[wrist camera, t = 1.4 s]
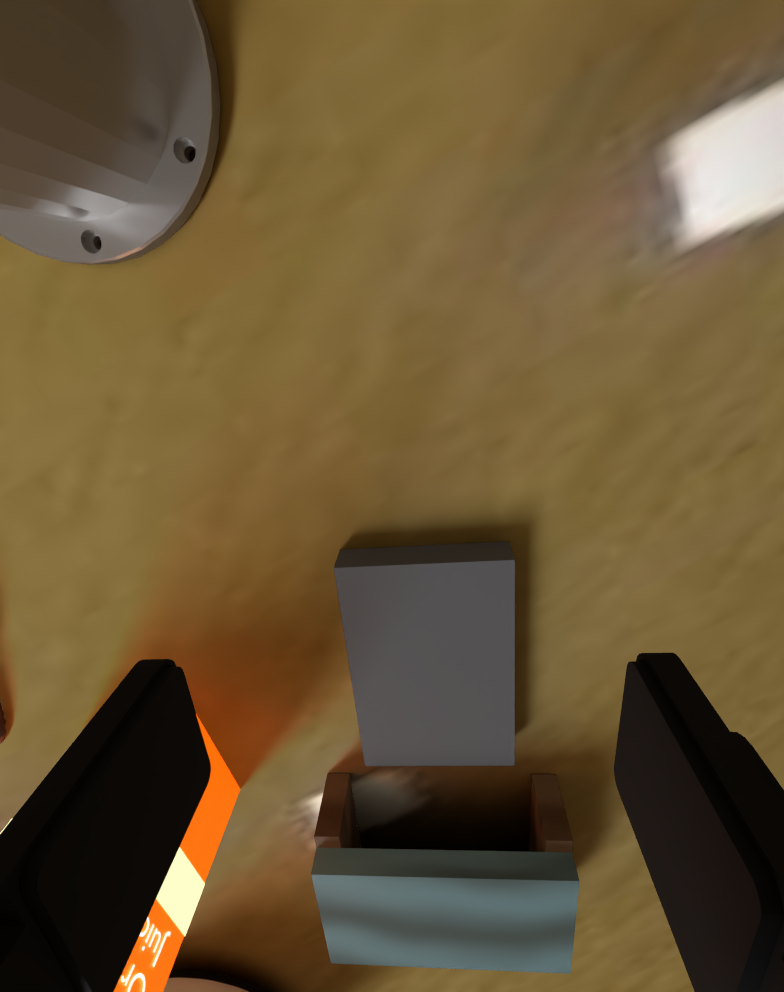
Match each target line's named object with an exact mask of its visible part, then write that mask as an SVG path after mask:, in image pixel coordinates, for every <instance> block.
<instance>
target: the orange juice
mask: <svg viewBox="0 0 784 992" xmlns="http://www.w3.org/2000/svg"><path fill="white" fill-rule="evenodd" d="M196 715H197V714H196ZM197 719H198V722H199V726H200V729H201V732H202V736H203V739H204V743H205V746H206V749H207V753H208V756H209V759H210V763H211V774H210V779H209V782H208V785H207V787H206V789H205V792H204V794H203V796H202V798H201V801H200V803H199V805H198V807H197V809H196V812H195V814H194V816H193V818H192V820H191V823H190V825H189V827H188V829H187V831H186V834H185V836H184V838H183V840H182V842H181V845H180V847H179V849H178V851H177V853H176V856H175V858H174V860H173V862H172V865H171V867H170V869H169V871H168V873H167V876H166V878H165V880H164V882H163V884H162V887H161V889H160V891H159V893H158V895H157V898H156V900H155V902H154V904H153V906H152V909H151V911H150V913H149V915H148V917H147V920H146V922H145V924H144V926H143V928H142V931H141V933H140V935H139V937H138V940H137V942H136V944H135V946H134V948H133V951H132V953H131V955H130V957H129V959H128V962H127V964H126V966H125V968H124V970H123V973H122V975H121V977H120V979H119V981H118V984H117V986H116V988H115V990H114V992H163V991H164V988H165V985H166V983H167V980H168V977H169V975H170V972H171V970H172V967H173V964H174V962H175V959H176V956H177V954H178V951H179V949H180V946H181V943H182V941H183V938H184V936H186V933H187V930H188V928H189V925H190V923H191V920H192V917H193V915H194V912H195V909H196V907H197V904H198V901H199V899H200V896H201V894H202V891H203V888H204V886H205V880H206V878H207V875H208V872H209V870H210V867H211V865H212V862H213V859H214V857H215V854H216V852H217V849H218V846H219V844H220V841H221V838H222V836H223V833H224V831H225V828H226V825H227V823H228V820H229V817H230V815H231V812H232V810H233V807H234V804H235V802H236V799H237V796H238V794H239V791H240V788H239V786H238V784H237V783H236V781H235V779H234V778H233V776H232V774H231V772H230V771H229V769H228V767H227V766H226V764H225V762H224V761H223V759H222V757H221V755H220V754H219V752H218V750H217V749H216V747H215V745H214V743H213V742H212V740H211V738H210V737H209V735H208V733H207V731H206V730H205V728H204V726H203V725H202V723H201V721H200V719H199V718H198V716H197ZM11 820H12V819H11ZM11 820H10V821H11ZM10 821H9V822H10ZM8 824H9V823H8ZM8 824H7V825H8ZM7 825H6V826H7ZM6 826H5V827H6ZM4 829H5V828H4ZM4 829H3V830H4ZM3 830H2V831H3ZM2 831H1V833H2ZM1 833H0V834H1Z"/></svg>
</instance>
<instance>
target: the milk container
mask: <svg viewBox="0 0 784 992" xmlns="http://www.w3.org/2000/svg"><path fill="white" fill-rule="evenodd" d="M163 992H266V991H264V990H262V989H260V988H258V987H256V986H254V985H251V984H249V983H247V982H245V981H243V980H241V979H238V978H234V977H230V976H226V975H222V974H219V973H214V972H207V971H192V970H179V971H174V972H170V975H169V977H168V980H167V983H166V985H165V988H164V991H163Z"/></svg>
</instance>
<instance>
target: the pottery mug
mask: <svg viewBox="0 0 784 992" xmlns="http://www.w3.org/2000/svg"><path fill="white" fill-rule="evenodd" d="M5 722H6V721H5V719H4V713H3V710H2V706H1V704H0V744H1V743H2V742H3V741H4V739H5Z"/></svg>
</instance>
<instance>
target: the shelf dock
mask: <svg viewBox="0 0 784 992" xmlns="http://www.w3.org/2000/svg"><path fill="white" fill-rule="evenodd" d="M314 838H315V842H316V847H317V848H316V853H315V858H314V863H313V868H312V873H311V876H312V881H313V885H314V890H315V894H316V899H317V903H318V908H319V912H320V917H321V921H322V926H323V930H324V934H325V939H326V943H327V948H328V952H329V957H330V961H331V963H332V964H356V965H380V966H403V967H427V968H451V969H475V970H498V971H522V972H546V973H571V962H572V952H573V942H574V932H575V921H576V911H577V901H578V891H579V878H578V874H577V870H576V866H575V862H574V858H573V854H572V847H573V839H572V835H571V831H570V828H569V824H568V820H567V816H566V812H565V809H564V805H563V801H562V797H561V793H560V790H559V786H558V782H557V778H556V774H532V782H531V810H530V838H529V852H520V851H468V850H417V849H365V848H361V842H360V836H359V830H358V823H357V817H356V811H355V804H354V798H353V792H352V786H351V779H350V773H328V774H327V779H326V783H325V788H324V793H323V798H322V802H321V807H320V812H319V817H318V821H317V826H316V831H315V835H314Z"/></svg>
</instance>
